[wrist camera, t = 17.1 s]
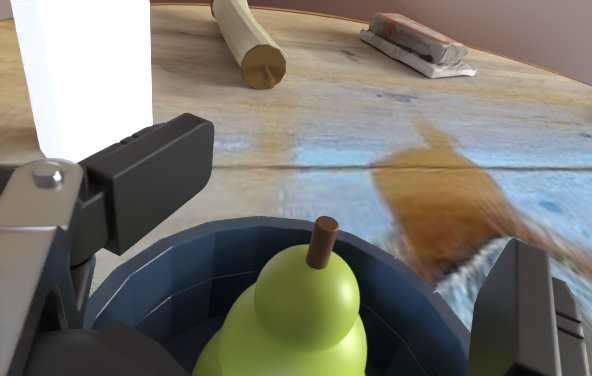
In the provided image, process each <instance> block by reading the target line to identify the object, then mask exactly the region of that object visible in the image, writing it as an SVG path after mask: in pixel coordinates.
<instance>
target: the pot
mask: <svg viewBox="0 0 592 376" xmlns="http://www.w3.org/2000/svg"><path fill="white" fill-rule="evenodd" d="M314 225H315V223H314V222H311V221H307V220H306V221H305V220H298V219H288V218H277V217H266V216H252V217H244V218H235V219H226V220H217V221H211V222H206V223H204V224H201V225H198V226H195V227H192V228H189V229H186V230H184V231H181V232H178V233H175V234H172V235H169V236H166V237H163V238H162V239H159V240H158V241H156V242H154V243H153V244H151V245H150V246H148V247H147V248H145V249H144V250H142V251H141V252H139V253H138V254H136V255H135V256H133V257H132V258H130V259H128V260H127V261H125V262H124V263H122V264H121V265H119V266H118V267H116V269H114V270H113V271H112V273H111V274H110V275H109V276H108V277H107V278H106V279H105V281H104V282H103V283H102V284H101V285H100V286H99V287H98V289H97V290H96V291H95V292H94V293H93V294H92V295H91V297H90V298H89V299H88V302H87V307H86V312H85V317H84V323H83V329H85V330H94V331H100V332H101V331H102V330H103V329H104V328H105V327H106V326H107V325H108V324H110V323H111V322H112V321H113V320H114V319H117V320H119V321H121V322H123V323H124V324H126V325H128V326H130V327H132V328H133V329H135V330H137V331H139V332H141V333H142V334H144V335H146V336H148V337H150V338H151V339H153V340H155V341H157V342H159V343H160V344H161V345H162V346H163V348H164V349H165V350H166V351H167V352H168V353H169V354H170V355H171V356H172V357H173V358H174V359H175V360H176V361H177V362H178V363H179V364H180V365H181V366H182V367H183V368H184V369H185V370H186V371H187V372H188V373H189V374H190V375H191V376H192V372H193V370H194V367H195V365H196V363H197V360H198V358H199V356H200V354H201V353H202V351H203V349H204V348H205V346H206V345H207V343H208V342H209V341H210V340H211V338H212V337H213V336H214V335H215V334H216V333H217V332H218V331H219V330H220V329H221V328H222V327H223V324H224V322H225V319H226V317H227V315H228V313H229V311H230V309H231V307H232V306H233V304H234V303H235V302H236V300H237V299H238V298H239V297H240V295H241V294H242V293H243V292H244V291H246V290H247V289H248V288H249V287H250V286H252V285H253V284H254V283H256V282H257V279H258V277H259V275H260V273H261V271H262V269H263V268H264V266H265V265H266V264H267V263H268V261H269V260H270V259H272V258H273V257H274V256H275V255H276V254H278V253H279V252H281V251H283V250H285V249H287V248H290V247H293V246H297V245H309V244H310V240H311V237H312V233H313V229H314ZM332 252H334V253H335V254H337V255H338V256H339V257H341V258H342V259H343V260H344V261H345V262H346V263H347V265H348V266H349V267H350V269H351V271H352V272H353V274H354V276H355V278H356V281H357V284H358V288H359V296H360V304H359V311H358V314H359V316H360V318H361V321H362V324H363V327H364V330H365V335H366V344H367V358H366V366H365V370H364V372H365V375H366V376H466V372H467V364H468V355H469V346H470V338H471V333H470V332H469V330H468V329H467V328H466V327H465V325H464V324H463V323H462V322H461V320H460V319H459V318H458V317H457V315H456V314H455V313H454V311H453V310H452V309H451V308H450V306H449V305H448V304H447V303H446V301H445V300H444V299H443V298H442V296H441V295H440V294H439V293H438V292H437V290H436V289H434V288H433V287H432V286H431V285H430V284H428V283H427V282H426V281H425V280H423V279H422V278H421V277H420V276H419V275H417V274H416V273H415V272H414V271H412V270H411V269H410V268H409V267H408V266H406V265H405V264H404V263H403V262H401V261H400V260H399V259H398V258H395V256H393V255H391V254H389V253H387V252H385V251H383V250H381V249H380V248H378V247H376V246H374V245H372V244H370V243H368V242H366V241H364V240H362V239H361V238H359V237H357V236H355V235H353V234H352V235H351V233H347V232H344V231H341V230H338V232H337V235H336V239H335V242H334V245H333V249H332Z"/></svg>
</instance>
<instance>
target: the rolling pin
mask: <svg viewBox="0 0 592 376" xmlns="http://www.w3.org/2000/svg"><path fill="white" fill-rule="evenodd" d="M210 5H211V12H212V15H213V16H214V18H215V19H216V21H217V24H218V26H219V28H220V31H221V33H222V35H223V37H224V39H225V41H226V43H227V45H228V46H229V48H230V50H231V52H232V54H233V56H234V57H235V59H236V61H237V62H238V64H239V66H240V67H241V69H242V76H243V77H244V79H245V80H246V82H247V83H248V85H250V86H252V87H255V88H257V89H271V88H273V87H274V86H275V85H276V84H278V83H279V82H280V81H281V79H282V78H283V76H284V74H285V72H286V61H285V59H284V57H283V55H282V54H281V52H282V53H283V54H284V55H285V56H286V57H287V58H288V56H287V55H286V54H285V52H284V51H283V50H282V49H281V48H280V47H279V46H278V45H277V44H276V43H275V42H274V41H273V39H272V38H271V37H270V36H269V35H268V34H267V33H266V32H265V31H264V30H263V28H262V27H261V26H260V25H259V24H258V23H257V21H256V20H255V19H254V17H253V16H252V14H251V13H250V11H249V7H248V4H247V0H212V2H211V4H210ZM280 51H281V52H280Z"/></svg>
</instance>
